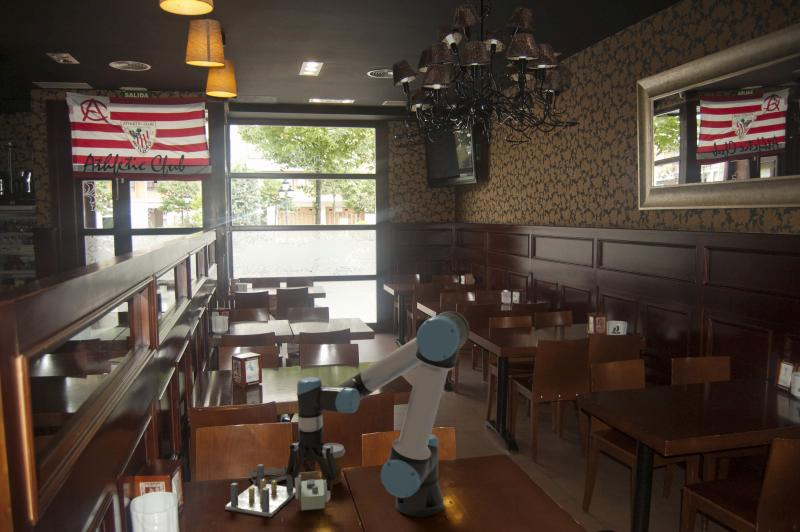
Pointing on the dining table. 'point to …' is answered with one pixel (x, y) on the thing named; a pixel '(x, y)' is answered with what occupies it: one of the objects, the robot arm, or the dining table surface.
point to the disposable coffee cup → (338, 458)
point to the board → (312, 494)
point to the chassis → (261, 496)
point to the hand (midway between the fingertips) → (312, 498)
